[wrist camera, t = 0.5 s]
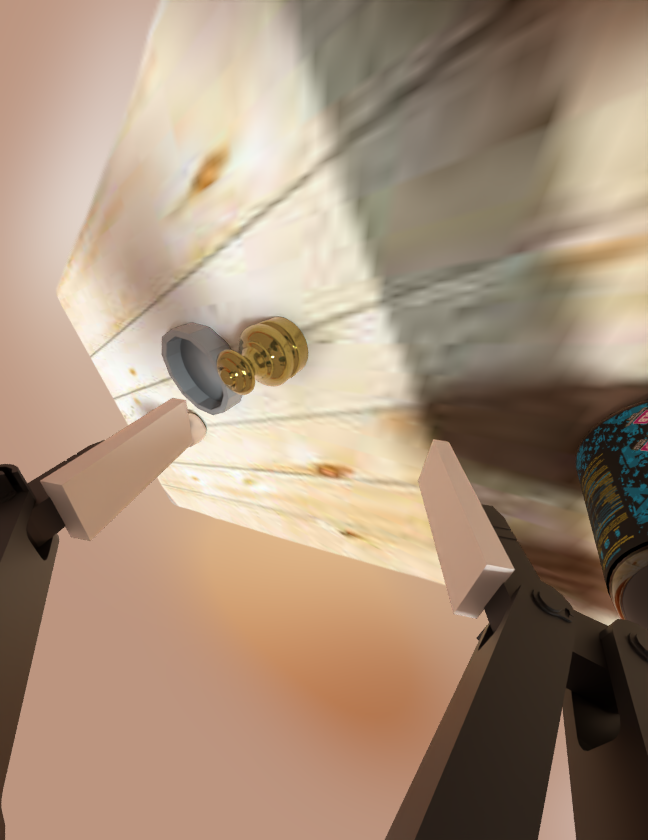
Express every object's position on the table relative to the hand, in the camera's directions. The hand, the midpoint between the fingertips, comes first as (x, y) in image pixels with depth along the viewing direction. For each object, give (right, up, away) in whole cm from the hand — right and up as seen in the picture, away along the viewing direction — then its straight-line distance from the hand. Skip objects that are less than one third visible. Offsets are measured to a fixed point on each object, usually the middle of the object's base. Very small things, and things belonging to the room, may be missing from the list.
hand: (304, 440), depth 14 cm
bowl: (-18, +10, +30) cm, 36 cm away
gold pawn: (-4, +11, +20) cm, 23 cm away
